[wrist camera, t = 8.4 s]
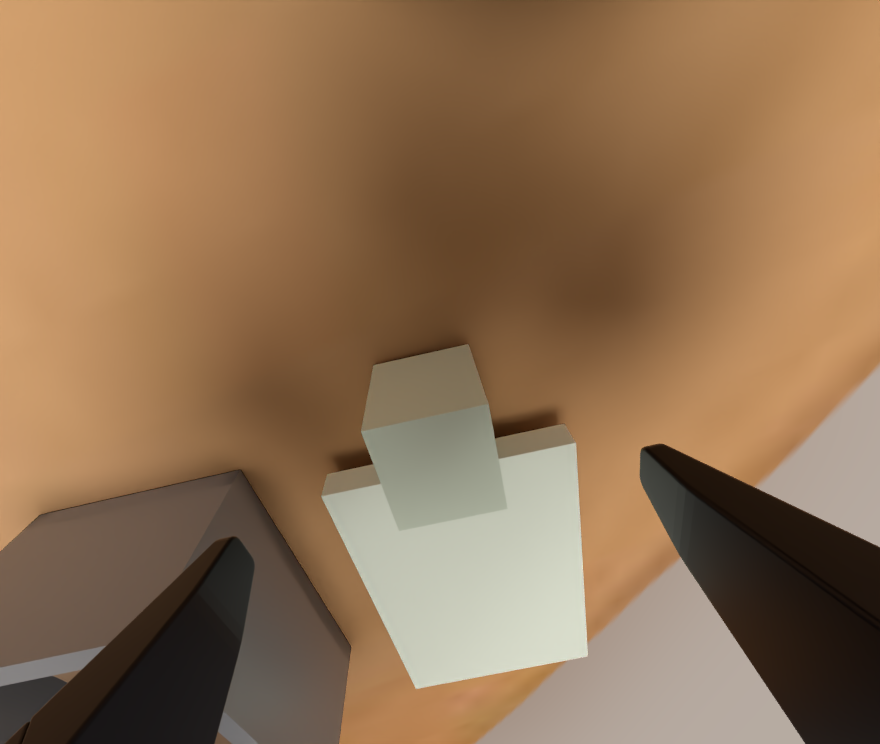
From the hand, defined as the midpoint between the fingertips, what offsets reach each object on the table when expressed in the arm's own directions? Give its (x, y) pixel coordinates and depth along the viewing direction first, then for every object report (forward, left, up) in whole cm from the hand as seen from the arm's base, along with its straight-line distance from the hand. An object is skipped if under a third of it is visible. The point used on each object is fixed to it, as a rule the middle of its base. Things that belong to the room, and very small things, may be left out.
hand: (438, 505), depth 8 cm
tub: (-10, +13, -7) cm, 18 cm away
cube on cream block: (-9, 0, -7) cm, 11 cm away
